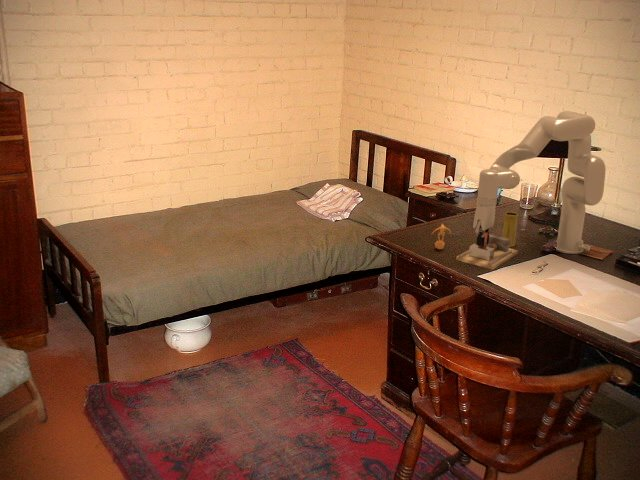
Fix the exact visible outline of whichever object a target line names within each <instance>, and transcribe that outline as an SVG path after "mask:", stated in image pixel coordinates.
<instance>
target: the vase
mask: <svg viewBox="0 0 640 480" xmlns="http://www.w3.org/2000/svg"><path fill="white" fill-rule="evenodd" d="M518 217H519V214H518V213H517V212H514V211H513V212H512V211H507V212H505V213H504V219H503V220H504V222H503V229H502V236H501V237H503V238H507V239H510V244H509V248H512V247H515V246H516V240H517V239H516V238H517V226H518V225H517V224H518Z"/></svg>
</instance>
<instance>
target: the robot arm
mask: <svg viewBox="0 0 640 480" xmlns="http://www.w3.org/2000/svg"><path fill="white" fill-rule="evenodd" d="M595 129H596V122H595V119H594V118H593V117H592V116H591V115H588V114H584V113H578V112H575V111H570V110H564V111H561V112H559V113H558V114H557V116H556V117H554V116H550V115H545V116H542V117H540V119H539V120H538V121H536V123H535V124H534V126H533V127H532V128H531V129H530V130H529V131H528V133H526V135H525V137H523V139H522V140H521V141H520V142H519V143H518V144H517V145H514V146H513V147H511V148H509V149H507V150H506V151H505V152H503V153H501V154H500V155H499V156H498V157H497V158H496V160H495V161H494V162H493V163H492V164H491V166H490V168H489V169H482V170H481V171H480V172H479V177H478V178H479V179H478V187H477V189H478V190H477V198H476V207H475V212H474V218H473V223H472V224H473V225H472V227H473V229H475V230H474V232H475V234H476V243H475V244H476V245H478V246H482V247H483V246H484V243H485V237H484V235H485V231H486V232H488V234H490V235H491V230H492V227H493V226H494V225H495V219H496V206H497V202H498V201H497V200H498V193H499V192H498V191H499V189H503V190H512V189H515V188H517V187H518V186H519V184H520V182H521V177H520V175H519V173H518V172H516V171H515V170H513V169H510V168H512V167H513V166H514V165H515V164H517V163H519V162H522V161H526V160H532V159H535V158H537V157H538V156H539V155H540V153H541V152H542V151H543V150H544V148H545V147H546V146H547V145H548V144H549V142H551V140H553V141H557V142H566V141H567V142H568V149H567V150H568V153H567V170H568V172H569V173H571V174H572V175H575V176H571V177H568V178H566V179H565V180H564V182H563V183H562V186H561V201H562V202H561V203H562V204H561V212H560V218H559V226H558V233H557V239H556V242H557V247H555V248H556V250H555V251H556V252H560V253H564V254H569V255H570V254H572V255H574V254H575V255H576V254H582V253H584V251H590V250H591V246H590V244H586V243H584V240H583V239H582V236H583V230H584V224H585V216H586V206H592V207H593V206H596V205H598V204H599V203H600V202H601V200H602V198H603V195H604V193H605V192H604V190H605V181H606V170H607V169H606V168H607V167H606V165H605V164H606V163H605V161H604V160H603V159H602V158H601V157H599V156H597V155H593V154H592V139H591V134H593V132H594V131H595ZM480 231H483V232H480ZM487 244H489V235H487Z"/></svg>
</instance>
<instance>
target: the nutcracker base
mask: <svg viewBox="0 0 640 480" xmlns="http://www.w3.org/2000/svg"><path fill="white" fill-rule="evenodd" d="M488 235H489V244H486V247H490V248H494V258H493V259H491V260H485V259H481V258H477V257H473V256H469V249H468V250H465V251H464V252H462V253H461V254H458V255H457V256H456V258H455V259H456V261H458V262H463V263H466V264H470V265H474V266H477V267H480V268H481V267H482V268H485V269H488V270H491V271H492V270H495V269H496V268H498V267H499V266H500V265H502V264H504V263H505V262H507V261H509V260H510V259H511V258H512V259H513V258H514V257H515V256H517V255H518V253H519V250H518V249H515V248H511V247H509V244H510V239H507V238H503V237H502V236H498V235H494V234H491V233H490V234H488Z"/></svg>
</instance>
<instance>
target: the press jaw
mask: <svg viewBox="0 0 640 480" xmlns="http://www.w3.org/2000/svg"><path fill="white" fill-rule="evenodd" d="M480 232H483V231H480ZM487 235H488V232H486V231H485V235H484V237H485V243H484V246H483V247H482V246H478V245H476V243H473V244H471V245H469V249H468V250H469V256H473V257H477V258H481V259H485V260H491V259H493V258H494V248H490V247H486V244H487Z"/></svg>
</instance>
